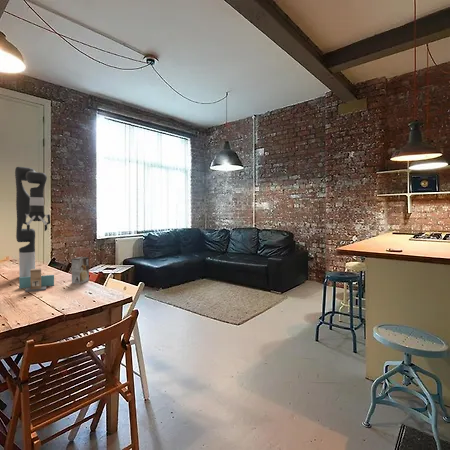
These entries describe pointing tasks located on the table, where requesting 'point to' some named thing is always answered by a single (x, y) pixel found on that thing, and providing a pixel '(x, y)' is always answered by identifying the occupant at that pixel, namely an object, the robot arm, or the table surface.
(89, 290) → the table surface
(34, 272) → the wooden block
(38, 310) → the table surface
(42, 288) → the dark gray upright panel
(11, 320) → the table surface
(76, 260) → the coffee box
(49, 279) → the teal board
